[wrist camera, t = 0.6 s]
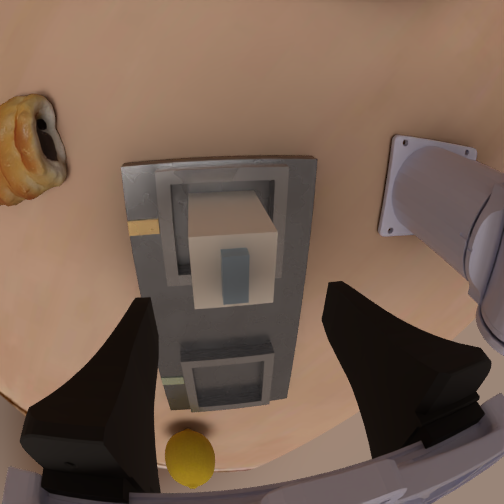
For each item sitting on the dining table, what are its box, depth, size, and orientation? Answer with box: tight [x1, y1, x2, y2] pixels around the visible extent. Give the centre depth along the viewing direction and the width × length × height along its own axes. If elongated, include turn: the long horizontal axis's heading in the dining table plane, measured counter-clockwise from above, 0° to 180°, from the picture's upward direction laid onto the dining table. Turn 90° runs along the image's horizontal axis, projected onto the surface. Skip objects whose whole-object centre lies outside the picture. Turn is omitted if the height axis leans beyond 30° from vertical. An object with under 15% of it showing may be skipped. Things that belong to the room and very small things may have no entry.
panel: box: [121, 155, 317, 412], centre depth 24 cm, size 12×24×2 cm, turn 179°
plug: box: [188, 190, 278, 309], centre depth 18 cm, size 4×4×7 cm
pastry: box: [0, 94, 67, 206], centre depth 15 cm, size 9×7×4 cm
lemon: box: [165, 428, 215, 489], centre depth 30 cm, size 6×6×8 cm
